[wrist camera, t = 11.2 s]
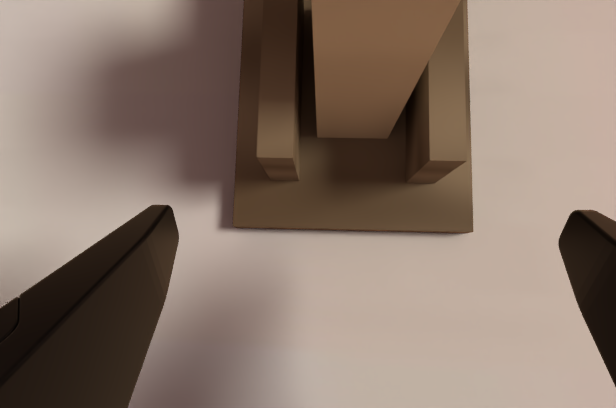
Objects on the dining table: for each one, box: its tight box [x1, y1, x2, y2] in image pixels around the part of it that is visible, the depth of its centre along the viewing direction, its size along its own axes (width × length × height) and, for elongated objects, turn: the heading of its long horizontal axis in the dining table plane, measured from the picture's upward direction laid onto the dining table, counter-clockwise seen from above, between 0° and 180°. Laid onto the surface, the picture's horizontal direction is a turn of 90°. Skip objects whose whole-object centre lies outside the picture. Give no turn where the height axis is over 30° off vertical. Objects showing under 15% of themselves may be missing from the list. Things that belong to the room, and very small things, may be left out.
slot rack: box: [233, 0, 473, 233], centre depth 17 cm, size 14×10×5 cm
